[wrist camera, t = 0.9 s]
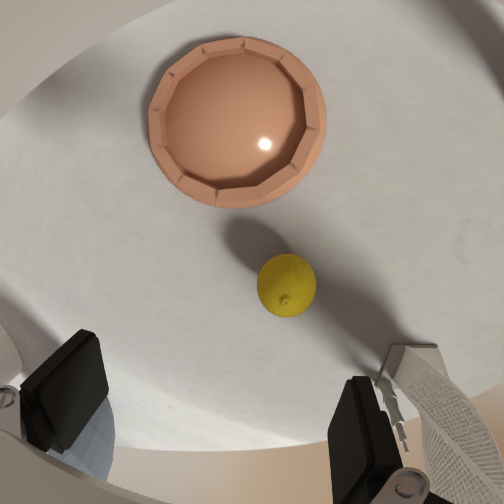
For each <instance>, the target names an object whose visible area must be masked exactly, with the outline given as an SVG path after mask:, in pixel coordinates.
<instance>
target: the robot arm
mask: <svg viewBox="0 0 504 504" xmlns="http://www.w3.org/2000/svg"><path fill="white" fill-rule="evenodd" d="M20 387H21V390H20V391H19V392H18V390H17V389H16V388H15V387H13V386H10V385H1V386H0V504H170V503H166V502H163V501H159V500H156V499H153V498H149V497H146V496H143V495H140V494H137V493H134V492H131V491H129V490H126V489H123V488H120V487H118V486H115V485H113V484H110V483H108V482H105V481H103V480H100V479H98V478H96V477H93V476H91V475H89V474H87V473H84V472H82V471H80V470H78V469H76V468H74V467H72V466H70V465H68V464H66V463H64V462H62V461H60V460H58V459H56V458H54V457H52V456H51V455H49V454H48V450H49V449H50V448H51V449H52V450H54V451H56V452H57V453H59V454H61V455H62V454H63V453H64V451H65V450H68V449H70V448H71V446H72V445H73V443H74V442H75V440H76V439H77V438H78V436H79V435H80V433H81V432H82V430H83V429H84V427H85V426H86V425H87V423H88V422H89V420H90V419H91V417H92V416H93V415H94V413H95V412H96V410H97V409H98V408H99V406H100V405H101V403H102V402H103V401H104V399H105V398H106V396H107V395H108V391H109V387H108V382H107V378H106V374H105V369H104V364H103V359H102V354H101V349H100V343H99V339H98V338H97V337H96V335H95V333H93V332H90V331H87V330H84V329H80V330H79V331H78V332H77V333H75V334H74V335H73V336H72V337H71V338H70V339H69V340H68V341H67V342H65V343H64V344H63V345H62V346H61V347H60V348H59V349H58V350H57V351H56V352H55V353H53V354H52V355H51V356H50V357H49V358H48V359H47V360H46V361H45V362H44V363H43V364H42V365H41V366H40V367H39V368H37V369H36V370H35V371H34V372H33V373H32V374H31V375H30V376H29V377H28V378H27V379H26V380H25V381H24V382H23V383H22V384H21V385H20ZM328 446H329V456H330V468H331V480H332V494H333V504H454V503H451V502H449V501H448V500H446V499H444V498H442V497H440V496H438V495H436V494H434V493H432V492H430V491H429V490H430V481H429V479H428V477H427V476H426V475H425V474H424V472H422V471H420V470H419V469H416V468H410V467H405V468H403V464H402V461H401V457H400V454H399V450H398V447H397V444H396V440H395V437H394V434H393V431H392V428H391V424H390V421H389V418H388V415H387V413H386V412H385V411H380V408H379V404H378V401H377V398H376V395H375V392H374V389H373V386H372V383H371V380H370V377H369V376H353V377H352V379H351V380H350V379H348V380H347V381H346V384H345V387H344V389H343V392H342V395H341V397H340V400H339V403H338V405H337V408H336V410H335V413H334V415H333V418H332V420H331V423H330V425H329V428H328Z"/></svg>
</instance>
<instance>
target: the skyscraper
mask: <svg viewBox="0 0 504 504" xmlns="http://www.w3.org/2000/svg"><path fill="white" fill-rule="evenodd" d="M398 388H400V390H401V391H402V392H403V393H404V394H405V395H406V397H407V398H408V399H409V400H410V401H411V402H412V404H413V405H414V406H415V407H416V408H417V409H418V411H419V414H420V417H421V420H422V448H423V457H424V465H425V471H426V476H427V477H428V479H429V481H430V491H431V492H432V493H434V494H436V495H438V496H440V497H442V498H444V499H446V500H448V501H449V502H451V503H454V504H504V461H503V458H502V455H501V452H500V450H499V447H498V445H497V442H496V440H495V438H494V436H493V434H492V432H491V430H490V428H489V426H488V425H487V423H486V422H485V420H484V418H483V417H482V415H481V414H480V413H479V411H478V410H477V408H476V407H475V406H474V405H473V404H472V402H471V401H470V400H469V399H468V397H467V396H466V395H465V394H464V393H463V392H462V391H461V390H460V389H459V388H458V387H457V386H456V385H455V384H454V383H453V382H452V381H451V380H450V379H449V376H448V373H447V370H446V367H445V364H444V361H443V358H442V356H441V353H440V350H439V347H438V346H437V345H401V344H392V345H391V348H390V351H389V353H388V356H387V359H386V362H385V364H384V367H383V369H382V372H381V375H380V377H379V380H378V382H377V385H376V389H380V390H381V392H382V394H383V403H384V404H385V405H386V407H387V409H388V411H389V413H390V417H391V423H392V428H394V429H397V431H398V434H399V439H400V443H402V444H403V445H404V449H405V453H406V454H407V453H409V451H408V448H407V446H406V441H407V438H406V436H405V433H404V431H403V425H404V423H405V422H404V419H403V417H402V415H401V413H400V411H399V408H398V404H397V396H396V394H395V393H394V391H393V389H398Z"/></svg>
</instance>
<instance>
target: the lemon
mask: <svg viewBox="0 0 504 504" xmlns="http://www.w3.org/2000/svg"><path fill="white" fill-rule="evenodd" d="M257 291H258V295H259V298H260V300H261V302H262V304H263V306H264V307H265V308H266V309H267V310H268V311H269V312H271V313H272V314H274V315H277V316H279V317H293V316H296V315H299V314H301V313H302V312H304V311H305V310H306V309H307V308H308V307H309V306H310V304H311V303H312V301H313V299H314V296H315V293H316V277H315V274H314V271H313V269H312V268H311V266H310V264H309V263H308V262H306V261H305V260H304V259H303V258H301V257H299V256H297V255H294V254H281V255H277V256H275V257H273V258H271V259H270V260H269V261H267V262H266V263H265V264H264V266H263V267H262V269H261V270H260V273H259V276H258V279H257Z"/></svg>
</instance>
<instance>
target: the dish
mask: <svg viewBox="0 0 504 504" xmlns="http://www.w3.org/2000/svg"><path fill="white" fill-rule="evenodd" d="M166 71H167V72H166ZM166 71H165V73H164V75H163V77H162V79H161V81H160V83H159V85H158V87H157V88H156V90H155V93H154V95H153V98H152V101H151V103H150V106H149V108H148V109H149V110H148V137H149V143H150V147H151V150H152V154H153V156H154V158H155V160H156V163H157V165H158V166H159V168H160V169H161V171H162V173H163V174H164V175H165V176H166V178H167V179H168V180H169V181H170V182H171V183H172V184H173V185H174V186H175V187H176V188H177V189H178V190H180V191H181V192H183V193H184V194H185V195H187V196H189V197H191V198H193V199H194V200H196V201H199V202H202V203H204V204H207V205H211V206H215V207H221V208H246V207H253V206H257V205H260V204H264V203H267V202H269V201H271V200H274V199H276V198H278V197H280V196H281V195H283V194H285V193H286V192H288V191H289V190H290V189H292V188H293V187H294V186H296V185H297V184H298V183H299V182H300V181H301V180H302V179H303V178H304V177H305V175H306V174H307V173H308V172H309V170H310V169H311V168H312V166H313V164H314V163H315V161H316V159H317V157H318V155H319V153H320V150H321V148H322V145H323V141H324V137H325V132H326V108H325V103H324V98H323V95H322V92H321V89H320V87H319V85H318V83H317V81H316V79H315V78H314V76H313V75H312V73H311V72H310V70H309V69H308V68H307V67H306V66H305V65H304V64H303V63H302V61H301V60H299V59H298V58H297V57H296V56H294V55H293V54H292V53H291V52H289V51H287V50H286V49H284V48H282V47H280V46H278V45H276V44H273V43H271V42H268V41H264V40H261V39H255V38H248V37H233V38H224V39H219V40H215V41H212V42H209V43H204V44H201V45H199V46H197V47H196V48H195V49H193V50H192V51H190V52H189V53H187V54H186V55H184V56H183V57H182V58H180V59H179V60H178V61H177V62H176V63H175V64H174V65H172V66H171V67H170V68H168V69H167V70H166Z"/></svg>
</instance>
